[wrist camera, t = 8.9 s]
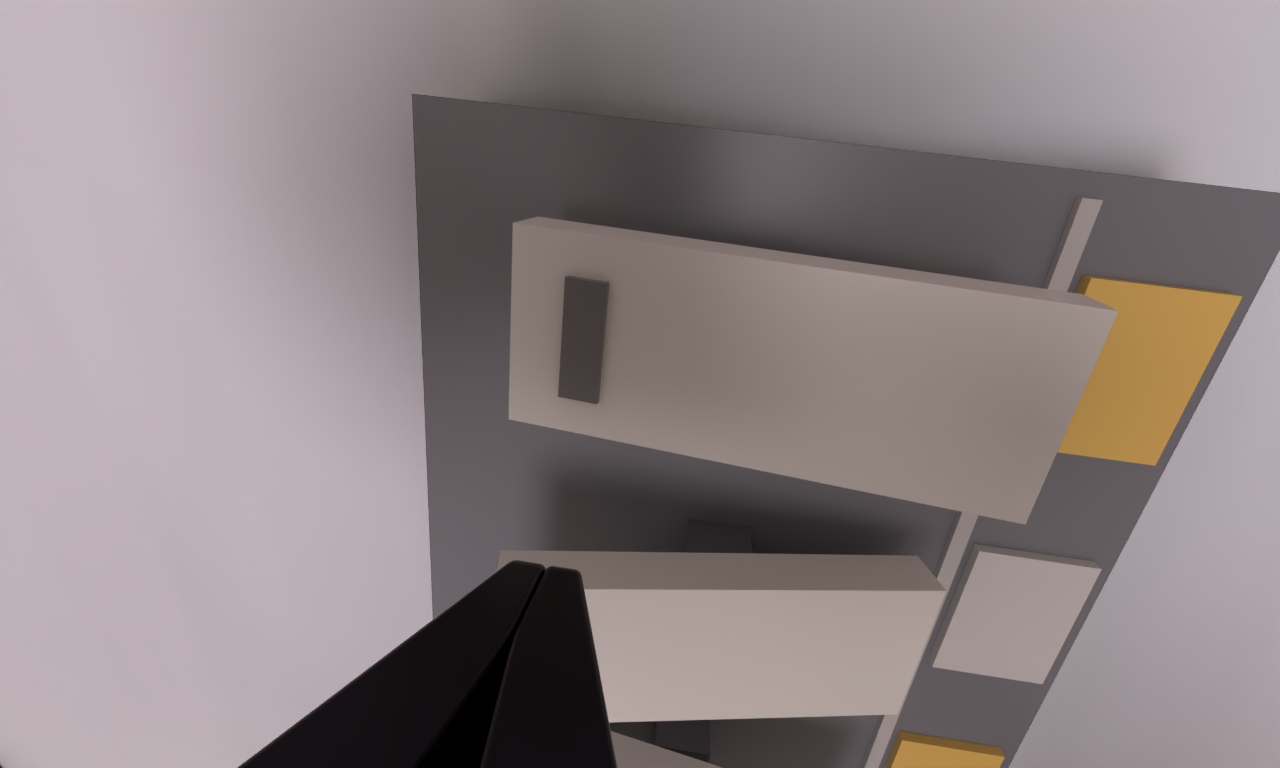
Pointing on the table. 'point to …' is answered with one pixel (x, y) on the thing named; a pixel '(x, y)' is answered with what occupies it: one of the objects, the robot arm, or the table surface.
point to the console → (801, 509)
